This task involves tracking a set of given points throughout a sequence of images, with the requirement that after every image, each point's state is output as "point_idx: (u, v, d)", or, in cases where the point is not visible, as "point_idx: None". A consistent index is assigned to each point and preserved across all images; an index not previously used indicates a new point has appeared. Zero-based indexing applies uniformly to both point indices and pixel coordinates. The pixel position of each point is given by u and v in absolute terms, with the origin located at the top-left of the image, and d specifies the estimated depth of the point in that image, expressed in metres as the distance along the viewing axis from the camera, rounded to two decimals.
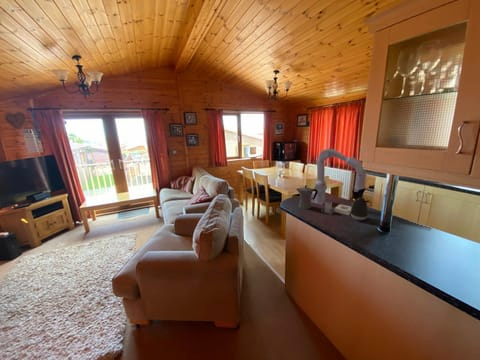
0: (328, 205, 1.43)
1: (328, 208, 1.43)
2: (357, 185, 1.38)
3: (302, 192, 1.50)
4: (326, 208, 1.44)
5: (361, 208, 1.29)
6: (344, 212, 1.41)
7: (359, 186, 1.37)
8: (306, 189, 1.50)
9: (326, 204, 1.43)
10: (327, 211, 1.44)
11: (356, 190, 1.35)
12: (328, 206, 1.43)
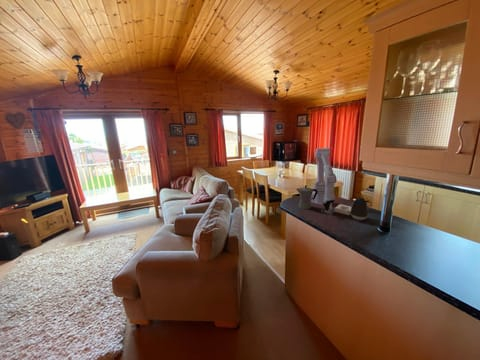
0: None
1: None
2: (326, 196, 1.41)
3: (302, 192, 1.50)
4: None
5: (361, 208, 1.29)
6: (344, 212, 1.41)
7: (328, 197, 1.40)
8: (306, 189, 1.50)
9: None
10: (327, 211, 1.44)
11: (324, 201, 1.38)
12: None
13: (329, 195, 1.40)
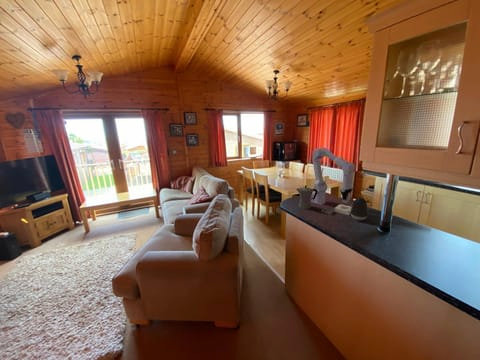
0: None
1: None
2: (344, 185, 1.39)
3: (302, 192, 1.50)
4: None
5: (361, 208, 1.29)
6: (344, 212, 1.41)
7: (346, 186, 1.39)
8: (306, 189, 1.50)
9: None
10: (345, 201, 1.42)
11: (343, 190, 1.36)
12: None
13: (347, 184, 1.38)
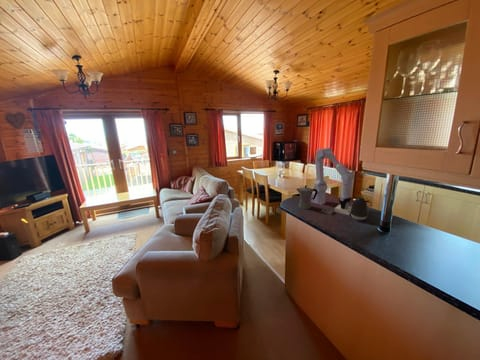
0: None
1: (345, 208, 1.43)
2: (343, 194, 1.41)
3: (302, 192, 1.50)
4: None
5: (361, 208, 1.29)
6: (344, 212, 1.41)
7: (345, 195, 1.40)
8: (306, 189, 1.50)
9: None
10: None
11: (342, 199, 1.38)
12: (345, 206, 1.43)
13: (346, 193, 1.40)
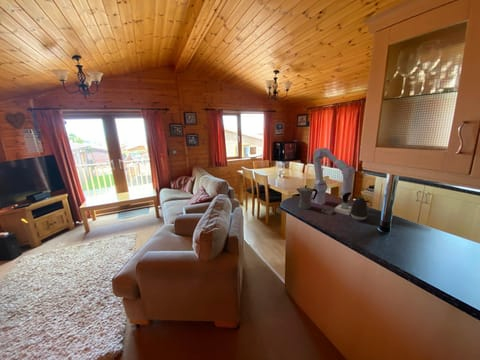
0: (345, 205, 1.43)
1: (345, 208, 1.43)
2: (344, 188, 1.40)
3: (302, 192, 1.50)
4: (343, 208, 1.44)
5: (361, 208, 1.29)
6: (344, 212, 1.41)
7: (346, 189, 1.39)
8: (306, 189, 1.50)
9: (343, 204, 1.44)
10: None
11: (342, 193, 1.37)
12: (345, 206, 1.43)
13: (347, 187, 1.39)
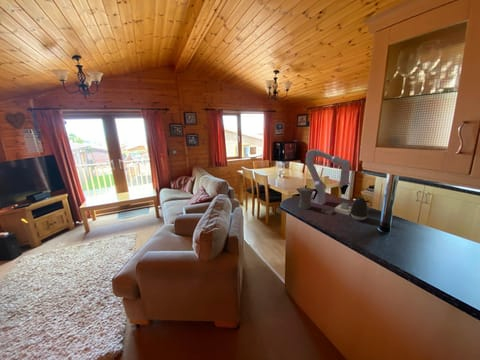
0: (345, 205, 1.43)
1: (345, 208, 1.43)
2: (342, 181, 1.49)
3: (302, 192, 1.50)
4: (343, 208, 1.44)
5: (361, 208, 1.29)
6: (344, 212, 1.41)
7: (343, 182, 1.48)
8: (306, 189, 1.50)
9: (343, 204, 1.44)
10: None
11: (340, 185, 1.46)
12: (345, 206, 1.43)
13: (345, 180, 1.47)
